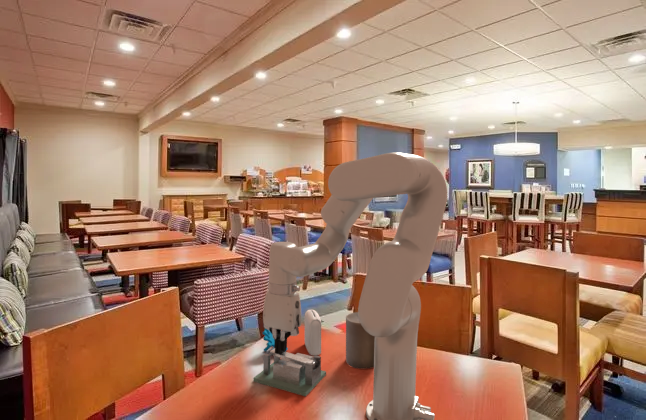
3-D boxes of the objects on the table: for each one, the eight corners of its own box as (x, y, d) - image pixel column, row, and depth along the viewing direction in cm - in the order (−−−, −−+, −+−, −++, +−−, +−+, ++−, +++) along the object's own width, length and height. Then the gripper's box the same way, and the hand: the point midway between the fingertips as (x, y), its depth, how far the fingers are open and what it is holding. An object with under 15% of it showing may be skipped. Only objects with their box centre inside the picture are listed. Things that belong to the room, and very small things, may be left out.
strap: (317, 364, 104) (318, 360, 103) (312, 369, 101) (312, 365, 101) (275, 350, 109) (275, 346, 109) (268, 355, 107) (269, 351, 106)
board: (326, 374, 108) (326, 371, 108) (305, 396, 97) (305, 392, 97) (277, 362, 115) (277, 359, 115) (253, 381, 104) (253, 377, 104)
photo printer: (303, 342, 129) (303, 306, 128) (315, 341, 130) (316, 305, 129) (309, 356, 119) (309, 317, 118) (322, 355, 120) (322, 316, 119)
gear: (280, 356, 115) (260, 329, 118) (266, 368, 116) (247, 341, 119) (294, 346, 125) (276, 322, 128) (282, 357, 126) (264, 333, 129)
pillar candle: (384, 361, 116) (384, 312, 115) (364, 373, 109) (364, 321, 108) (358, 351, 123) (359, 305, 122) (338, 362, 116) (338, 313, 115)
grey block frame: (323, 374, 106) (323, 354, 105) (309, 388, 99) (309, 367, 98) (277, 363, 112) (277, 344, 112) (261, 375, 105) (261, 355, 105)
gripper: (313, 288, 105) (310, 353, 107) (267, 280, 112) (265, 340, 113) (299, 296, 98) (297, 364, 100) (251, 286, 105) (250, 351, 107)
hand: (280, 351), depth 107 cm, fingers closed
